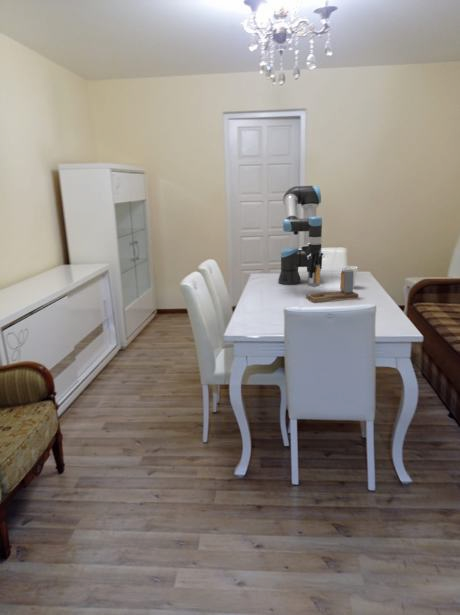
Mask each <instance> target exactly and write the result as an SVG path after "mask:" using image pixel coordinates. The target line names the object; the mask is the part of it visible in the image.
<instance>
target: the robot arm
mask: <svg viewBox="0 0 460 615" xmlns="http://www.w3.org/2000/svg"><path fill="white" fill-rule="evenodd" d="M321 194H322V193H321V189H320V187H319V186H318V185H299V186H297V185H296V186H293V187H290V188H289V189H288V190H287V191H286V192H285V193H284V195H283V198H282V202H283V205H284V207H285V208H284V209H285V210H284V211H285V212H284V213H285V219H283V220H282V231H283V232H284V233H285V232H287V233H291V232H292V233H293V232H303V244H302V246H301V249H299V247H296V246H294V247H287V248H284V249H282V250H281V251H280V273H279V276H278V279H277V280H278V281H277V283H278V284H279V285H280V284H281V285H285V286H289V285H298V284H301V281H302V280H301V276H300V273H299V268H306V272H307V273H308V272H309V278H310V283H314V273H313V270H314V264H320V272H321V270H322V268H323V267H322V265H323V255H324V253H323V252H322V243H323V242H322V241H323V240H322V239H323V238H322V232H323V231H322V230H323V218H322V217H321V216H318V215H317V209H318V208H319V206H320V204H321V203H322V195H321ZM298 205H300V207H301V208H302V210H303V218H299V215H298ZM311 270H312V271H311Z"/></svg>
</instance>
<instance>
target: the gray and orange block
mask: <svg viewBox="0 0 460 615" xmlns="http://www.w3.org/2000/svg"><path fill="white" fill-rule="evenodd" d="M320 270H321V269H320V264H314V270H313V273H314V283H310V278H309V272H307V286H309V287H314V288H317V287H319V286H320V283H321V271H320ZM311 271H312V270H311Z"/></svg>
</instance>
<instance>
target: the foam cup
mask: <svg viewBox="0 0 460 615" xmlns="http://www.w3.org/2000/svg"><path fill="white" fill-rule="evenodd" d="M358 268H359V267H358V266H354V265H344V266H342V267H341V272H342V271H345V270H351V271H354V274H353V289H354V288H355V286H356V285H355V284H356V279H357V273H358Z"/></svg>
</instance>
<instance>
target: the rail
mask: <svg viewBox="0 0 460 615" xmlns="http://www.w3.org/2000/svg"><path fill="white" fill-rule="evenodd" d="M305 299H306V300H308V302H309V301H310V302H311V303H313V304H315V303H316V304H317V303H326V302H334V300H337V301H344V300H346V299H347V300H355V299H359V293H357V292H354V291H353V293H350V294H343V293H341V290H338V291H328V292H326V291H325V292H319V293H309V294H306V295H305ZM347 300H346V301H347Z"/></svg>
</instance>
